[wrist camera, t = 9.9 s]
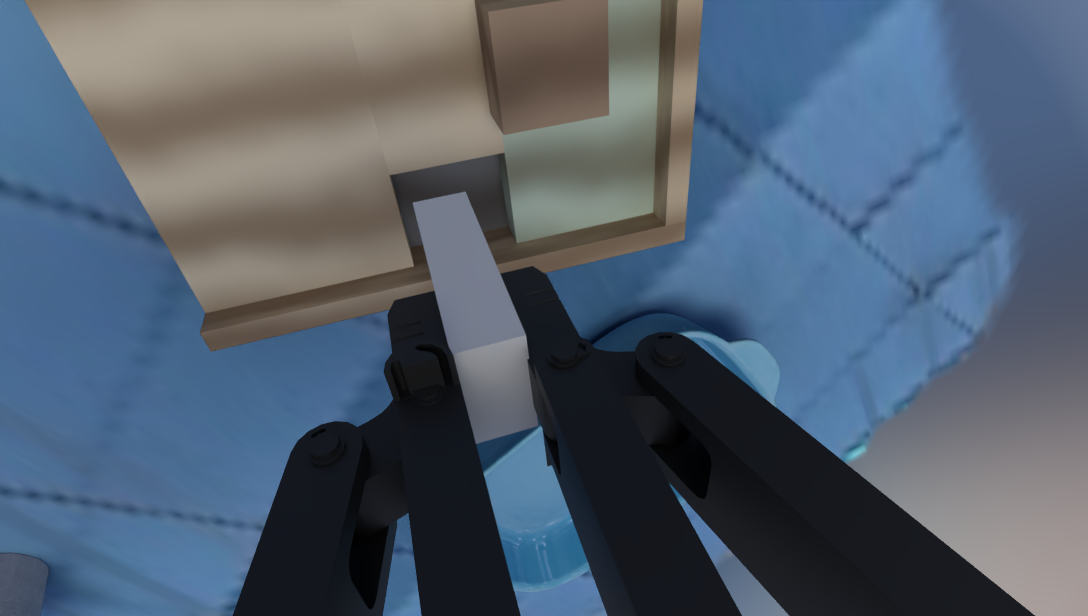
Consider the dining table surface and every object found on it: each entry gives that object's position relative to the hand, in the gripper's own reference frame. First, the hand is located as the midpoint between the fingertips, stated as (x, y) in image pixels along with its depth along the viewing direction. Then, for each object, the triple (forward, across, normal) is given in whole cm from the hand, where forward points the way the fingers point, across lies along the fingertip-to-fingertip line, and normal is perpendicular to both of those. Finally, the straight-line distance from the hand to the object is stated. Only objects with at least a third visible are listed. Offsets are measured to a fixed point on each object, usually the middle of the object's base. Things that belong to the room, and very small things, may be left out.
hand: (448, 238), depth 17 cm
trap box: (+21, 0, 0) cm, 21 cm away
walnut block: (+18, +8, 0) cm, 20 cm away
